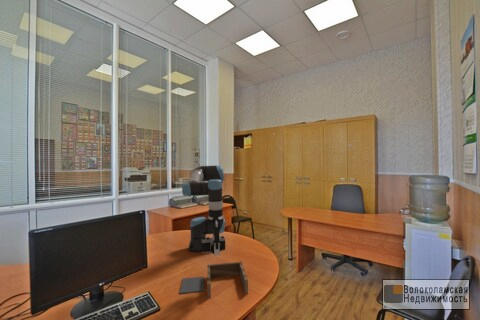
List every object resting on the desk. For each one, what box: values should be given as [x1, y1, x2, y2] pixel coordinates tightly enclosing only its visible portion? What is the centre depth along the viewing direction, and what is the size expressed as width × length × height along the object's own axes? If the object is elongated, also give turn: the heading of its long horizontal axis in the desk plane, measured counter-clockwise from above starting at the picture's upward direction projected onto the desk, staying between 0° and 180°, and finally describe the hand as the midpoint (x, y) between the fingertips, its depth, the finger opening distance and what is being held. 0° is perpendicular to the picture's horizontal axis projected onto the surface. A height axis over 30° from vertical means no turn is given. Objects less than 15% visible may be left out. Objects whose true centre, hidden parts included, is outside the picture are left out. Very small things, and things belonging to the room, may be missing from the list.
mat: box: [179, 276, 205, 295], centre depth 117 cm, size 14×12×1 cm
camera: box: [201, 234, 226, 255], centre depth 115 cm, size 13×8×9 cm, turn 106°
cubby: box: [206, 261, 249, 299], centre depth 116 cm, size 20×20×7 cm
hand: (216, 251), depth 115 cm, fingers closed on camera, 8 cm apart
